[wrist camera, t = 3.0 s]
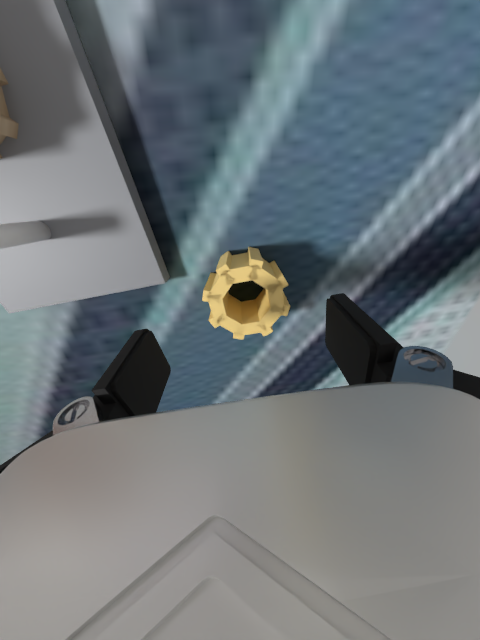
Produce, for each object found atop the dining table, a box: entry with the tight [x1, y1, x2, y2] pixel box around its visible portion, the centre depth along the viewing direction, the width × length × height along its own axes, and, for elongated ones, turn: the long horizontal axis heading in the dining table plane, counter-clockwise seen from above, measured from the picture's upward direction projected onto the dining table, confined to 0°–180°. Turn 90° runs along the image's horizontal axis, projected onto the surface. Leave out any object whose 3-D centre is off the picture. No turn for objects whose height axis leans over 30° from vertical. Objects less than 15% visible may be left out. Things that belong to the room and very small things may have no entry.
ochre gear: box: [202, 247, 290, 340], centre depth 18 cm, size 7×7×4 cm
